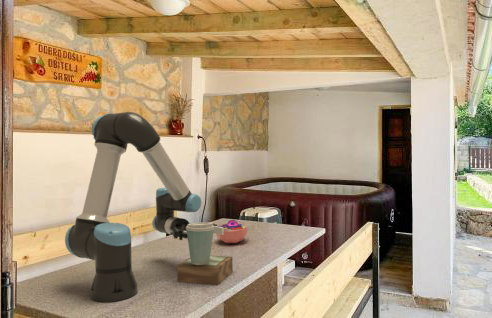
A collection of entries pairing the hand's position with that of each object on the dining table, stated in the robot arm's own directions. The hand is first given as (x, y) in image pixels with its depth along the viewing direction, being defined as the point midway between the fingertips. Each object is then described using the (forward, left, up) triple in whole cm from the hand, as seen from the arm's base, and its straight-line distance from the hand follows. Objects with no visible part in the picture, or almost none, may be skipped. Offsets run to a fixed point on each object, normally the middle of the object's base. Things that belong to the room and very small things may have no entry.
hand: (208, 234), depth 152 cm
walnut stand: (+1, +2, -17) cm, 17 cm away
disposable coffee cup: (-3, +2, -10) cm, 11 cm away
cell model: (+57, +11, -17) cm, 61 cm away
